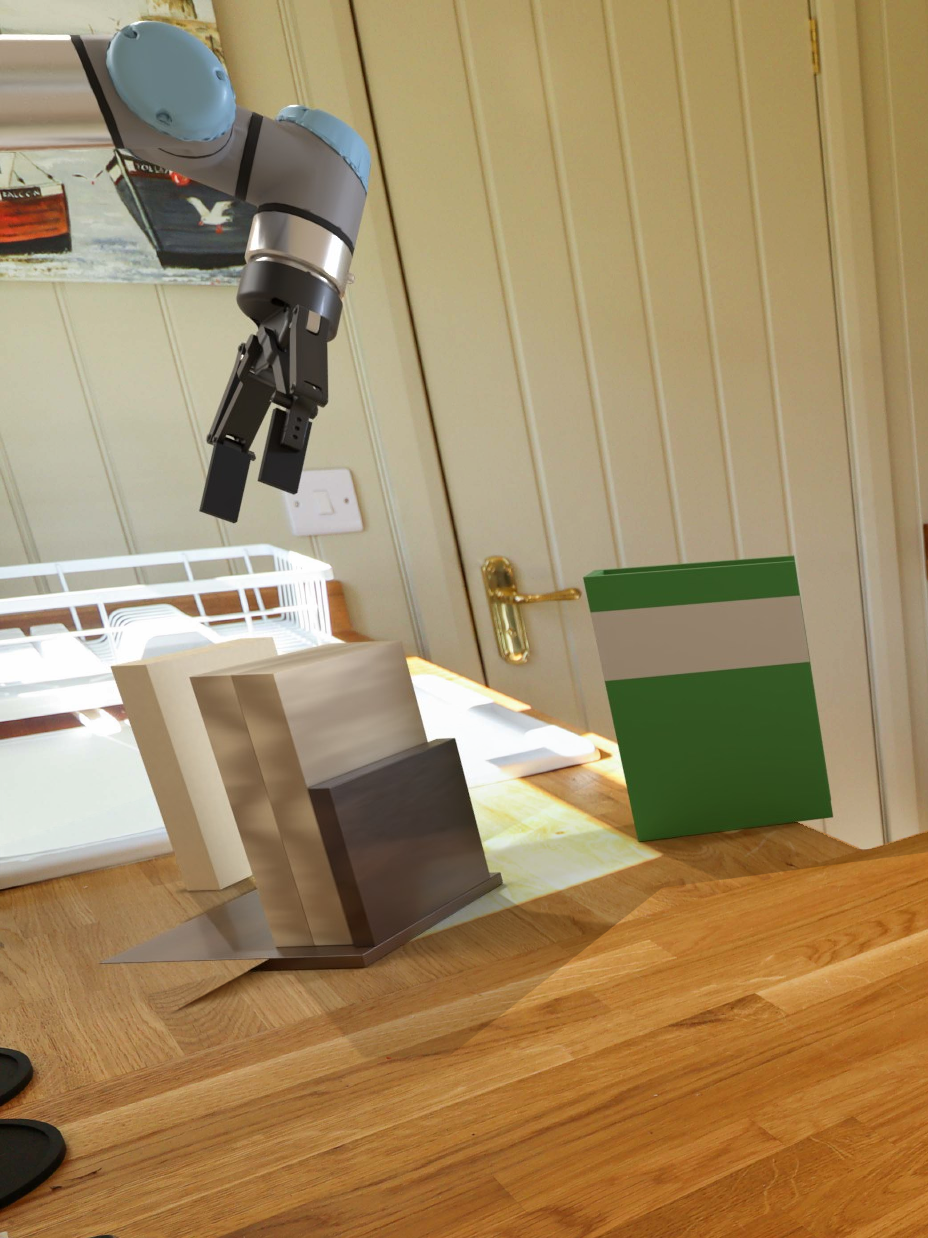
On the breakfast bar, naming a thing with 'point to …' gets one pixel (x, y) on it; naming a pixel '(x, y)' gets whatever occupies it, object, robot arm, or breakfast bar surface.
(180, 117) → the robot arm
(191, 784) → the thin cream book
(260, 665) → the book rack
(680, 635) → the hardback book
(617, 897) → the breakfast bar surface
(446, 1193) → the breakfast bar surface
